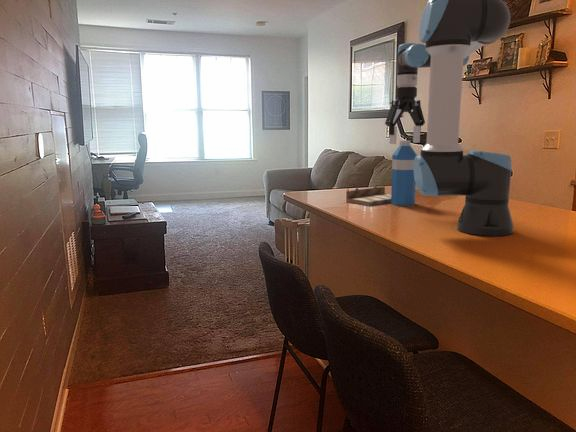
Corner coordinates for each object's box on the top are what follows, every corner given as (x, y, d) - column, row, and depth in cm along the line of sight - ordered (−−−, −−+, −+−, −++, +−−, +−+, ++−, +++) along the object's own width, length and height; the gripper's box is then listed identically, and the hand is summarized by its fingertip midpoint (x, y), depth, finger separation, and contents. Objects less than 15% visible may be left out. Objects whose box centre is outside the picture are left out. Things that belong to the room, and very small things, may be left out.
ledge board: (368, 206, 178) (369, 192, 177) (346, 201, 189) (346, 189, 188) (406, 200, 190) (406, 187, 189) (382, 196, 201) (383, 184, 200)
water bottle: (412, 202, 186) (415, 140, 181) (416, 205, 177) (419, 140, 172) (389, 201, 187) (391, 140, 182) (392, 205, 178) (394, 141, 173)
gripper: (391, 85, 163) (390, 144, 167) (435, 87, 177) (433, 142, 181) (376, 86, 169) (375, 144, 173) (420, 88, 183) (417, 141, 188)
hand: (404, 143), depth 177 cm, fingers open, 13 cm apart
